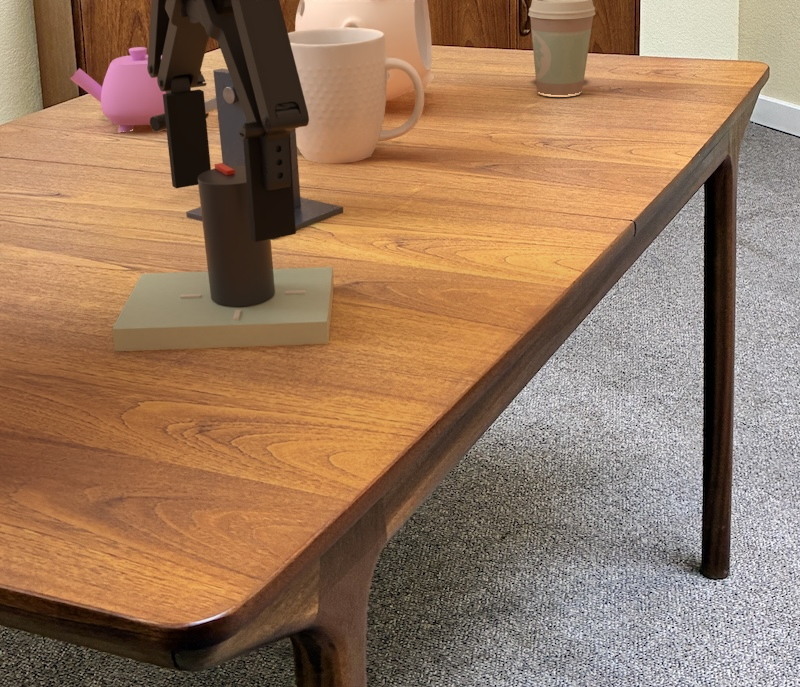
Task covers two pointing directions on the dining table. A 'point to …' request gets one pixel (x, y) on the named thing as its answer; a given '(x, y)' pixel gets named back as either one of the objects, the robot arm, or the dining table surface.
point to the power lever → (160, 123)
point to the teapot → (126, 90)
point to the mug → (346, 92)
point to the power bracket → (233, 155)
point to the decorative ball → (389, 13)
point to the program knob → (233, 240)
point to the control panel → (224, 313)
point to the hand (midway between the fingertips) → (230, 209)
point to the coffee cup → (560, 43)
